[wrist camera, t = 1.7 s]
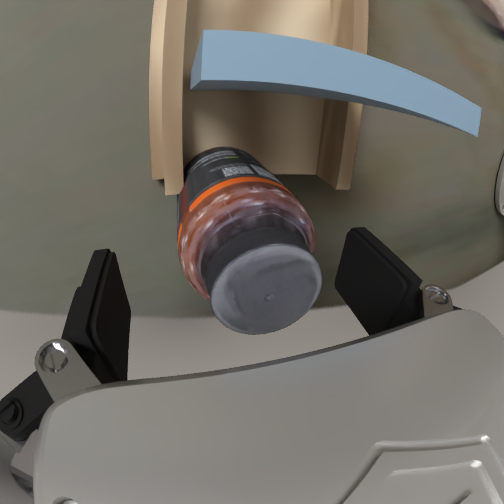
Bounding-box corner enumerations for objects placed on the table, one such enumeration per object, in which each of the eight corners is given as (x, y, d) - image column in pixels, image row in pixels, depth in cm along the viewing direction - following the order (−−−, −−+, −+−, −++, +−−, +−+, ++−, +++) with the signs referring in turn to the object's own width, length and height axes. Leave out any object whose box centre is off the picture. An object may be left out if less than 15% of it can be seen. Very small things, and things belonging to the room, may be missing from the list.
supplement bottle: (211, 239, 21) (242, 370, 11) (159, 179, 17) (137, 294, 8) (278, 193, 20) (363, 297, 11) (234, 125, 16) (306, 177, 7)
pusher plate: (321, 83, 15) (481, 108, 5) (320, 97, 15) (477, 136, 6) (190, 74, 13) (203, 29, 4) (189, 90, 14) (200, 80, 4)
